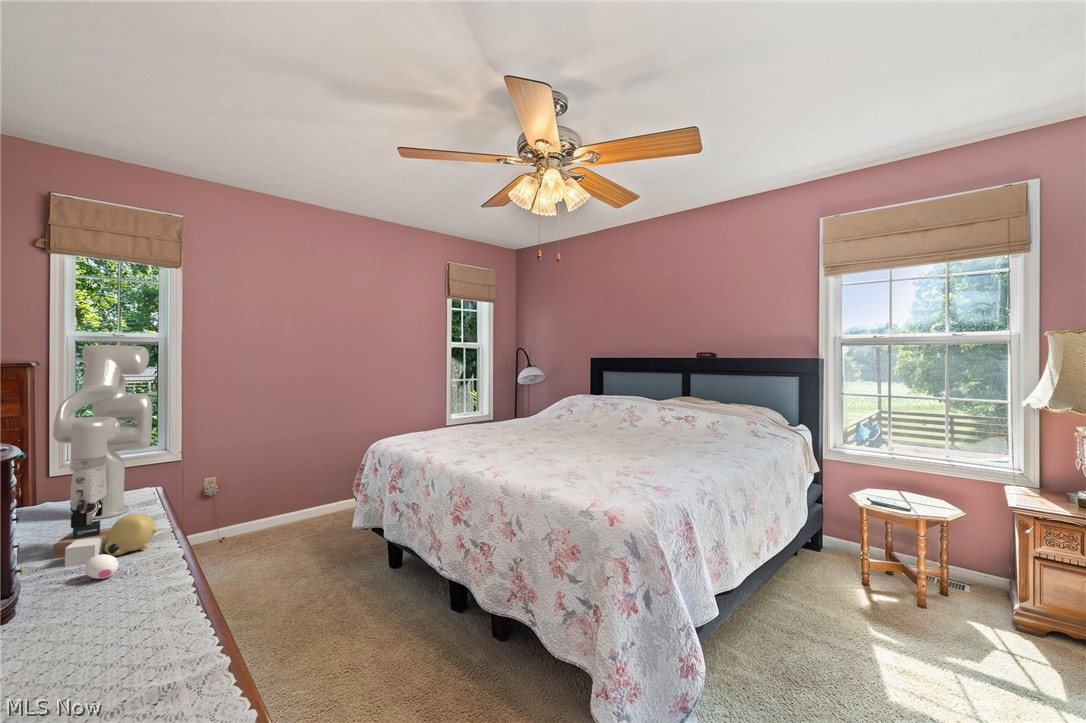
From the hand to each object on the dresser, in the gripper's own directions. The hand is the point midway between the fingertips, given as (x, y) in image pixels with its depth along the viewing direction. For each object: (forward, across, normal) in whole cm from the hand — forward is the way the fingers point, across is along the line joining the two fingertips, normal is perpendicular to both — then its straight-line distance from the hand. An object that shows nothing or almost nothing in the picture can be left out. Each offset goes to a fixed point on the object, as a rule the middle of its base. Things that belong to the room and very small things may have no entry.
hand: (87, 521), depth 133 cm
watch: (+4, 0, 0) cm, 4 cm away
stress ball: (+8, -23, -12) cm, 27 cm away
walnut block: (+8, 0, 0) cm, 8 cm away
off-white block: (+8, -9, -3) cm, 13 cm away
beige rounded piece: (+8, -6, -12) cm, 16 cm away
